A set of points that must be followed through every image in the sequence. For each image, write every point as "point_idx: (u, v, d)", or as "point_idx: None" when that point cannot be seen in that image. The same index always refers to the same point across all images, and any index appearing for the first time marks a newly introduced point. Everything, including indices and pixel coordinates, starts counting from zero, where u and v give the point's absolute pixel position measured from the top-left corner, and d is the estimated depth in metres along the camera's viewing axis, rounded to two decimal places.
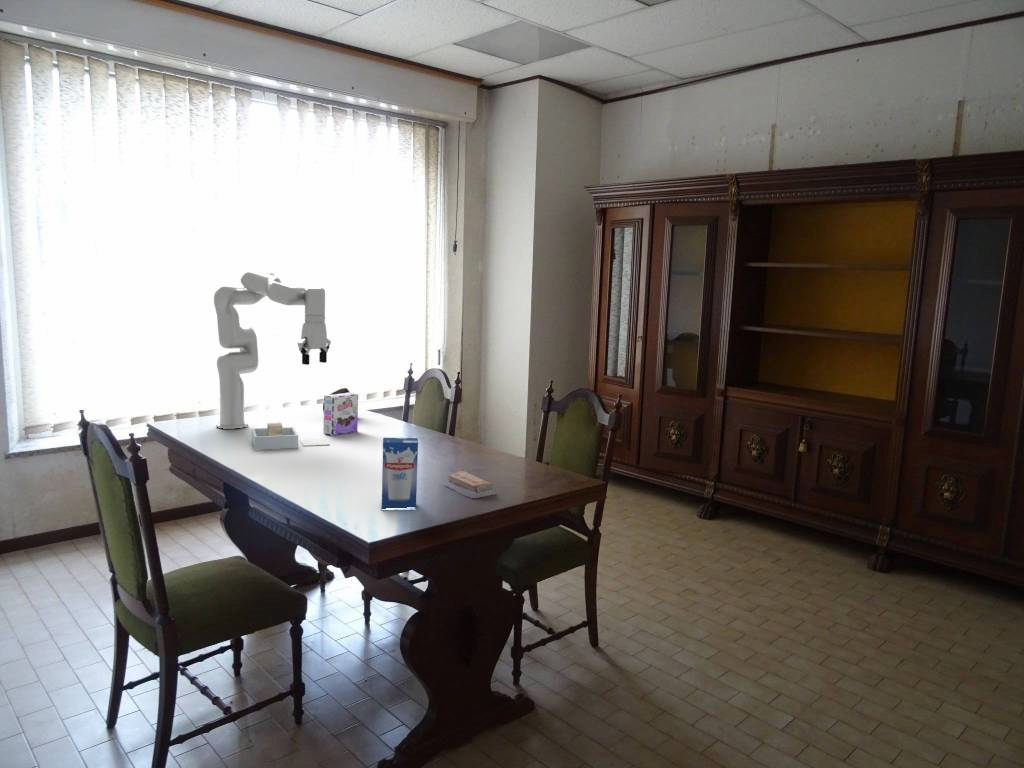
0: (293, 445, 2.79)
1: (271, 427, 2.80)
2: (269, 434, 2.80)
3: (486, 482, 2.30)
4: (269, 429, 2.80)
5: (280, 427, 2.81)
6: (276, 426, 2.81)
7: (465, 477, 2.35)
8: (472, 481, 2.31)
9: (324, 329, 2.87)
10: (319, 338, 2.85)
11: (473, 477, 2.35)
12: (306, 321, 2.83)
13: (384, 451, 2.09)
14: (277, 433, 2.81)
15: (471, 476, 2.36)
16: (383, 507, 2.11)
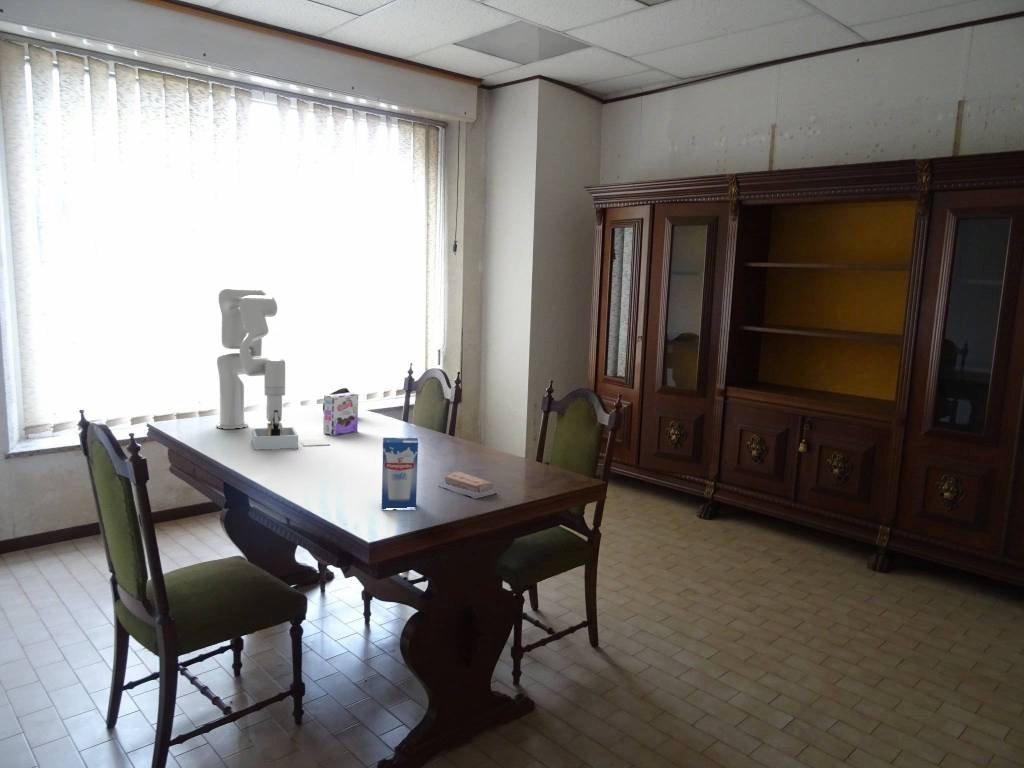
0: (293, 445, 2.79)
1: (271, 427, 2.80)
2: (269, 434, 2.80)
3: (487, 482, 2.31)
4: (269, 429, 2.80)
5: (280, 427, 2.81)
6: None
7: (463, 477, 2.35)
8: (472, 481, 2.31)
9: None
10: None
11: (471, 477, 2.35)
12: (273, 394, 2.77)
13: (384, 451, 2.09)
14: None
15: (469, 476, 2.36)
16: (383, 507, 2.11)
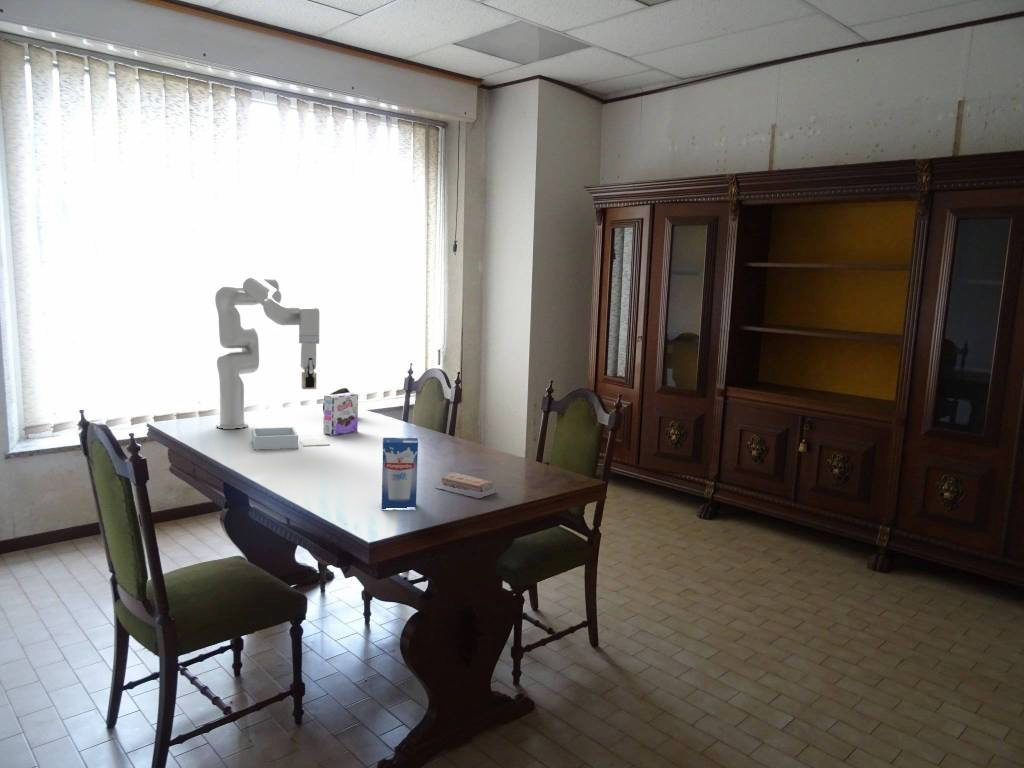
0: (293, 445, 2.79)
1: (305, 375, 2.82)
2: (303, 382, 2.82)
3: (488, 481, 2.31)
4: (303, 377, 2.82)
5: (314, 375, 2.83)
6: None
7: (462, 478, 2.34)
8: (473, 481, 2.31)
9: None
10: None
11: (470, 477, 2.35)
12: (307, 342, 2.80)
13: (384, 451, 2.09)
14: None
15: (467, 476, 2.36)
16: (383, 507, 2.11)
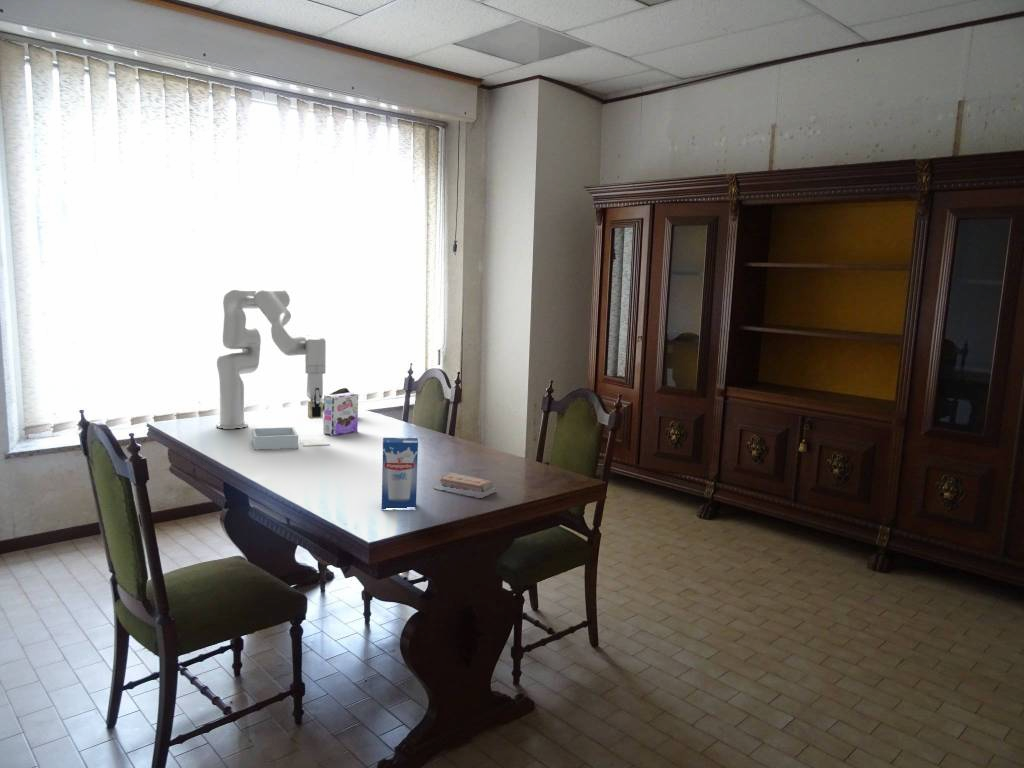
0: (293, 445, 2.79)
1: (312, 405, 2.85)
2: (310, 412, 2.85)
3: (488, 481, 2.32)
4: (310, 407, 2.85)
5: (321, 405, 2.86)
6: None
7: (461, 478, 2.34)
8: (473, 481, 2.31)
9: None
10: None
11: (469, 477, 2.35)
12: (314, 372, 2.82)
13: (384, 451, 2.09)
14: None
15: (465, 477, 2.35)
16: (383, 507, 2.11)
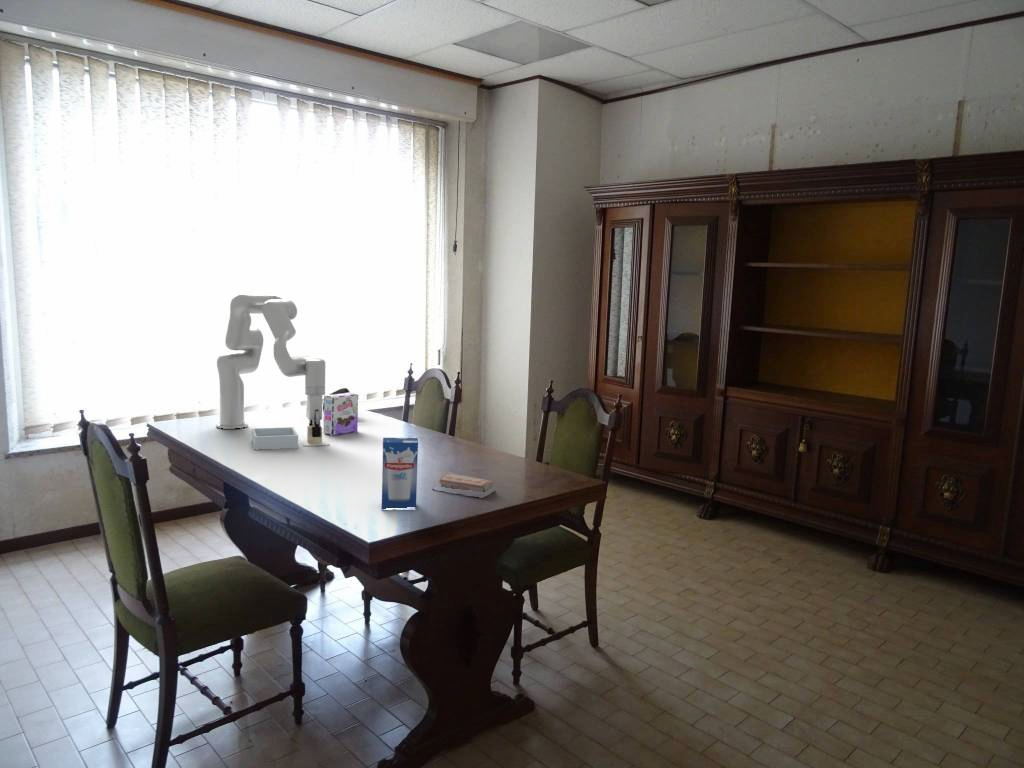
0: (293, 445, 2.79)
1: (311, 430, 2.86)
2: (309, 437, 2.86)
3: (488, 481, 2.32)
4: (309, 432, 2.86)
5: None
6: None
7: (461, 479, 2.33)
8: (474, 481, 2.31)
9: None
10: None
11: (468, 477, 2.35)
12: (314, 393, 2.83)
13: (384, 451, 2.09)
14: None
15: (464, 477, 2.35)
16: (383, 507, 2.11)
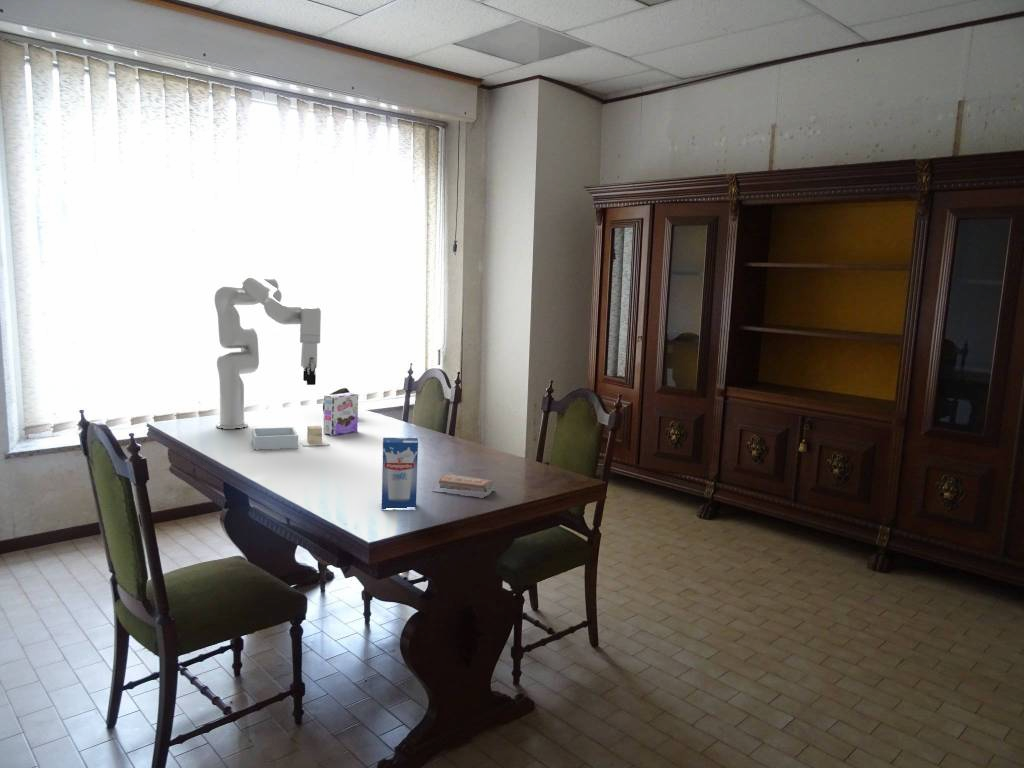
0: (293, 445, 2.79)
1: (311, 430, 2.86)
2: (309, 437, 2.86)
3: (488, 480, 2.33)
4: (309, 432, 2.86)
5: (320, 430, 2.87)
6: (317, 428, 2.87)
7: (460, 479, 2.33)
8: (474, 481, 2.31)
9: None
10: None
11: (467, 478, 2.34)
12: (308, 341, 2.81)
13: (384, 451, 2.09)
14: (317, 436, 2.87)
15: (464, 477, 2.35)
16: (383, 507, 2.11)
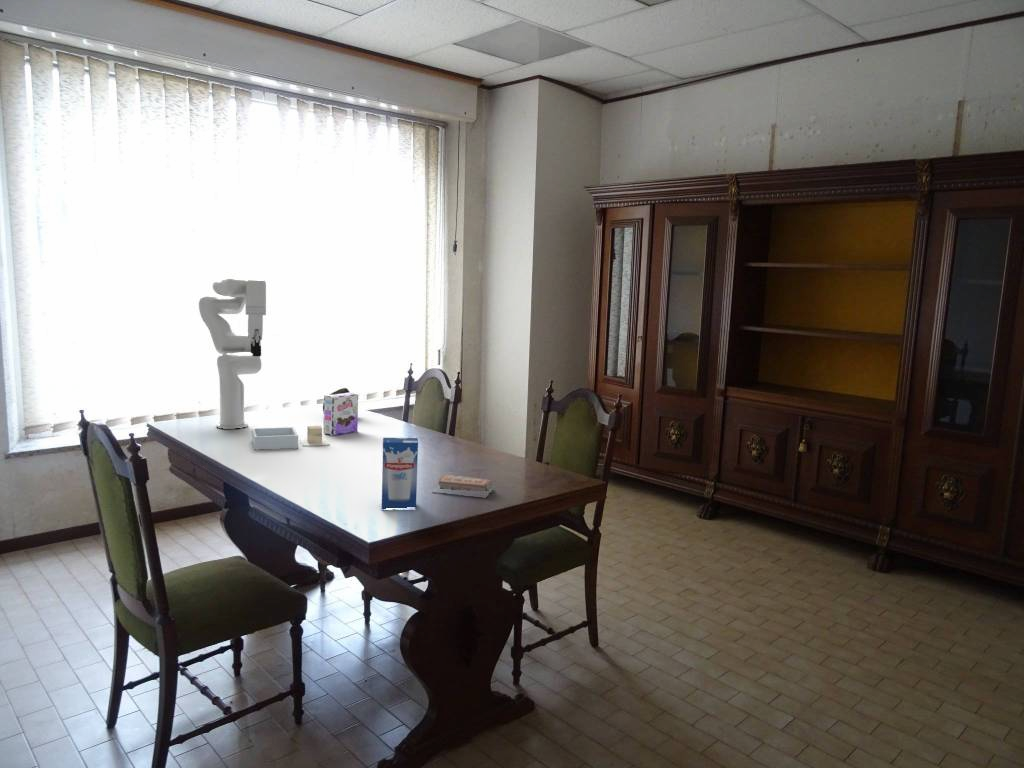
0: (293, 445, 2.79)
1: (311, 430, 2.86)
2: (309, 437, 2.86)
3: (488, 480, 2.33)
4: (309, 432, 2.86)
5: (320, 430, 2.87)
6: (317, 428, 2.87)
7: (460, 479, 2.32)
8: (475, 481, 2.31)
9: None
10: None
11: (466, 478, 2.34)
12: (253, 313, 2.83)
13: (384, 451, 2.09)
14: (317, 436, 2.87)
15: (463, 477, 2.34)
16: (383, 507, 2.11)
